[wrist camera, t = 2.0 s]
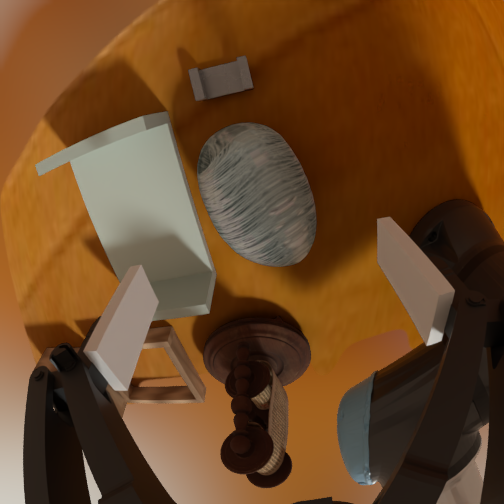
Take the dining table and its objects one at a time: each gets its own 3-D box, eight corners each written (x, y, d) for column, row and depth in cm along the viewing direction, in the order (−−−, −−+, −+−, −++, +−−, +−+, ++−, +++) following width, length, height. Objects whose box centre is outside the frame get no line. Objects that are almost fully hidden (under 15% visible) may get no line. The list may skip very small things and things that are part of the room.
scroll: (318, 364, 43) (339, 483, 25) (231, 385, 46) (224, 497, 28) (291, 295, 36) (314, 448, 19) (186, 326, 39) (156, 462, 21)
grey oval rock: (162, 146, 24) (203, 173, 17) (249, 101, 26) (319, 111, 19) (219, 252, 33) (267, 305, 26) (285, 207, 35) (345, 245, 28)
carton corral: (94, 346, 42) (81, 373, 37) (129, 392, 48) (122, 418, 43) (46, 347, 43) (33, 370, 38) (81, 390, 50) (72, 412, 44)
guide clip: (246, 60, 23) (245, 55, 21) (253, 88, 25) (253, 87, 22) (194, 72, 24) (188, 70, 21) (201, 101, 25) (195, 101, 23)
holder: (167, 111, 26) (142, 115, 19) (216, 274, 35) (209, 313, 28) (72, 148, 27) (35, 164, 21) (129, 289, 36) (110, 325, 30)
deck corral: (172, 326, 39) (167, 341, 36) (206, 388, 46) (204, 402, 43) (89, 333, 40) (82, 346, 38) (131, 389, 48) (127, 402, 45)
